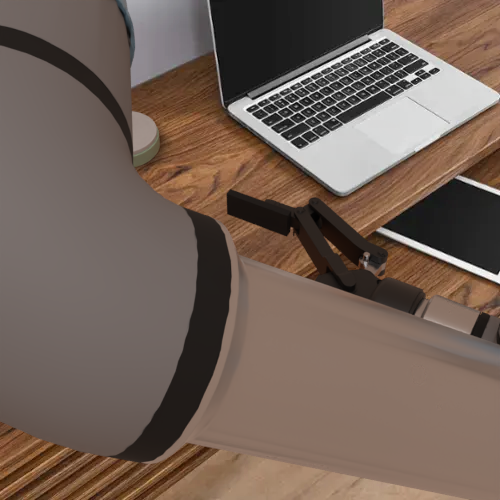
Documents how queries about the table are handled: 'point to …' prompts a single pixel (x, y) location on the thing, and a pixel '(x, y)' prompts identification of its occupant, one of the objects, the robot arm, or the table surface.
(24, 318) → the robot arm
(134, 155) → the beige and green disc
